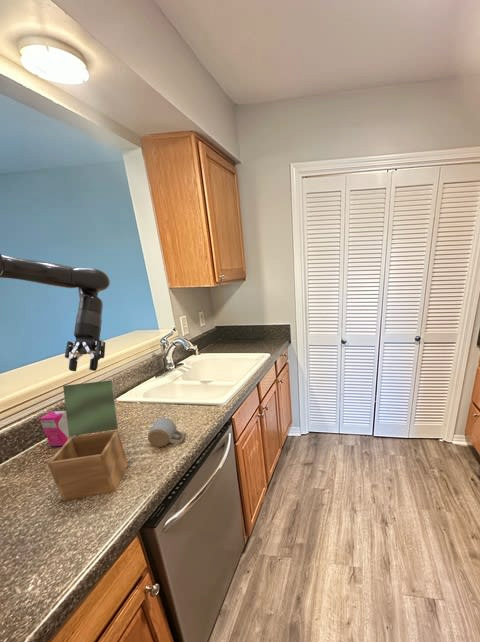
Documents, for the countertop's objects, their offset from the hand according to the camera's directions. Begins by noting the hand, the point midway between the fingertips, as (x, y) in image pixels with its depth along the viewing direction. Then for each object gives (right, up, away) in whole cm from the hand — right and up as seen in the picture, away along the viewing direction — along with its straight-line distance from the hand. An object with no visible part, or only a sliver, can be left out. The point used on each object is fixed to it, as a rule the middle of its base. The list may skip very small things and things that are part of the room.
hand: (82, 370), depth 111 cm
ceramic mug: (+29, -25, +2) cm, 38 cm away
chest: (+18, -34, -19) cm, 43 cm away
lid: (+15, -12, -19) cm, 27 cm away
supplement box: (-10, -26, +4) cm, 28 cm away
